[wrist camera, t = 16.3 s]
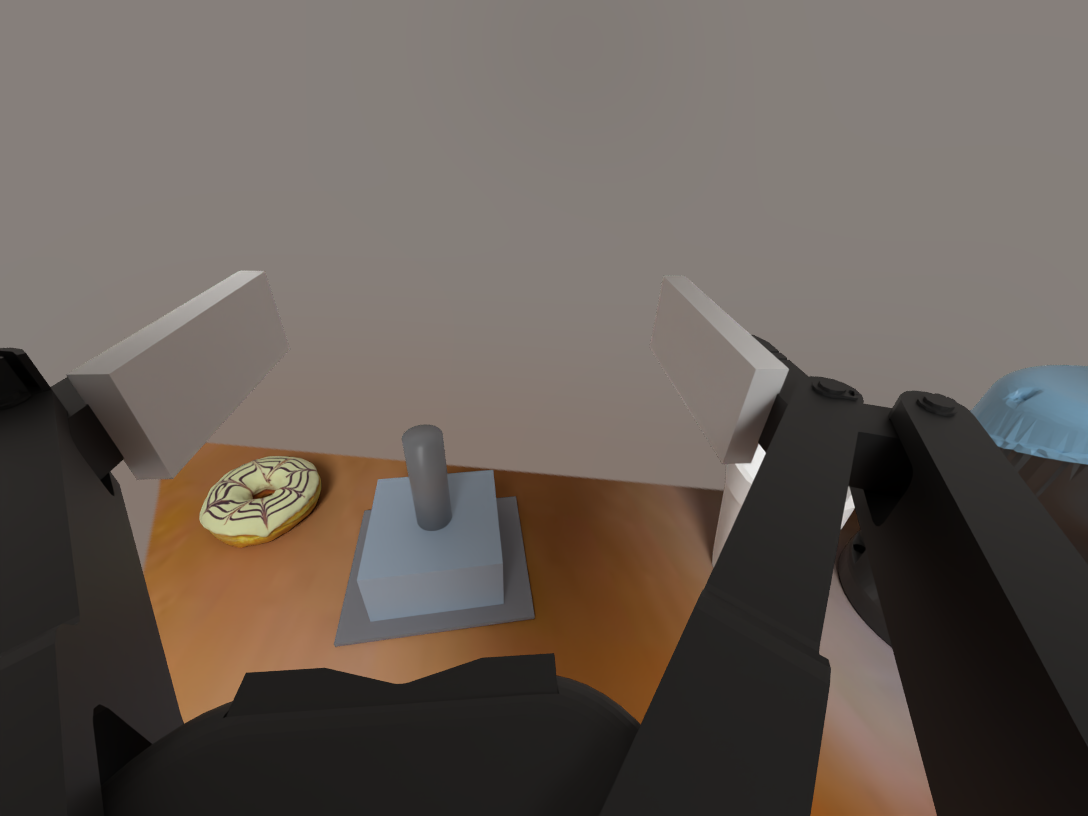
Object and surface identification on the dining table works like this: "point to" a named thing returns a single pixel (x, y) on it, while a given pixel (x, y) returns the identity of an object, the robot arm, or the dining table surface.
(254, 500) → the decorated donut
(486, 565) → the cover
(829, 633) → the dining table surface
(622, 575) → the dining table surface
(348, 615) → the mat
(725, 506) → the foam cup
